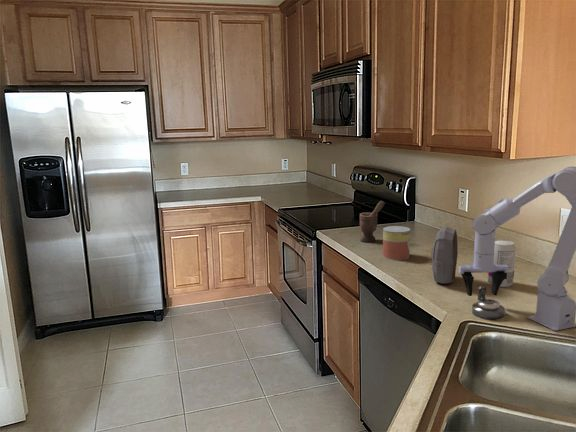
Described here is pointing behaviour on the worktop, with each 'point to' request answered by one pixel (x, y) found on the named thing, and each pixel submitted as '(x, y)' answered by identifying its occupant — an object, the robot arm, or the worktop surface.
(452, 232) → the grey rounded bag
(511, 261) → the supplement can
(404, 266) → the worktop surface
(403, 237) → the canned food
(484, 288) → the capstan dial
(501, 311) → the stand
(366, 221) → the mortar and pestle
